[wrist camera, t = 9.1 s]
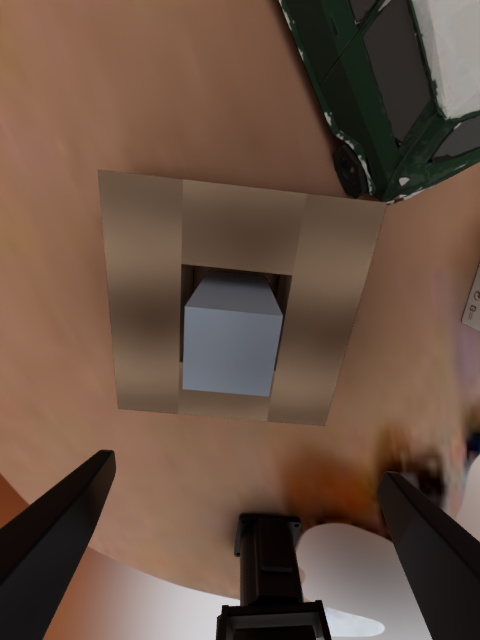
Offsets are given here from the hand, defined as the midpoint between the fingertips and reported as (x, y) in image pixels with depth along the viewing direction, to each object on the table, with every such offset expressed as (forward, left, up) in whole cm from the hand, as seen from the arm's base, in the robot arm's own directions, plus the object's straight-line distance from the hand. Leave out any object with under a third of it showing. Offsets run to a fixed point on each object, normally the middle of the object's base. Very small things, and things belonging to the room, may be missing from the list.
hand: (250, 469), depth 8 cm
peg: (+2, +1, -12) cm, 12 cm away
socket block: (+2, +1, -12) cm, 12 cm away
